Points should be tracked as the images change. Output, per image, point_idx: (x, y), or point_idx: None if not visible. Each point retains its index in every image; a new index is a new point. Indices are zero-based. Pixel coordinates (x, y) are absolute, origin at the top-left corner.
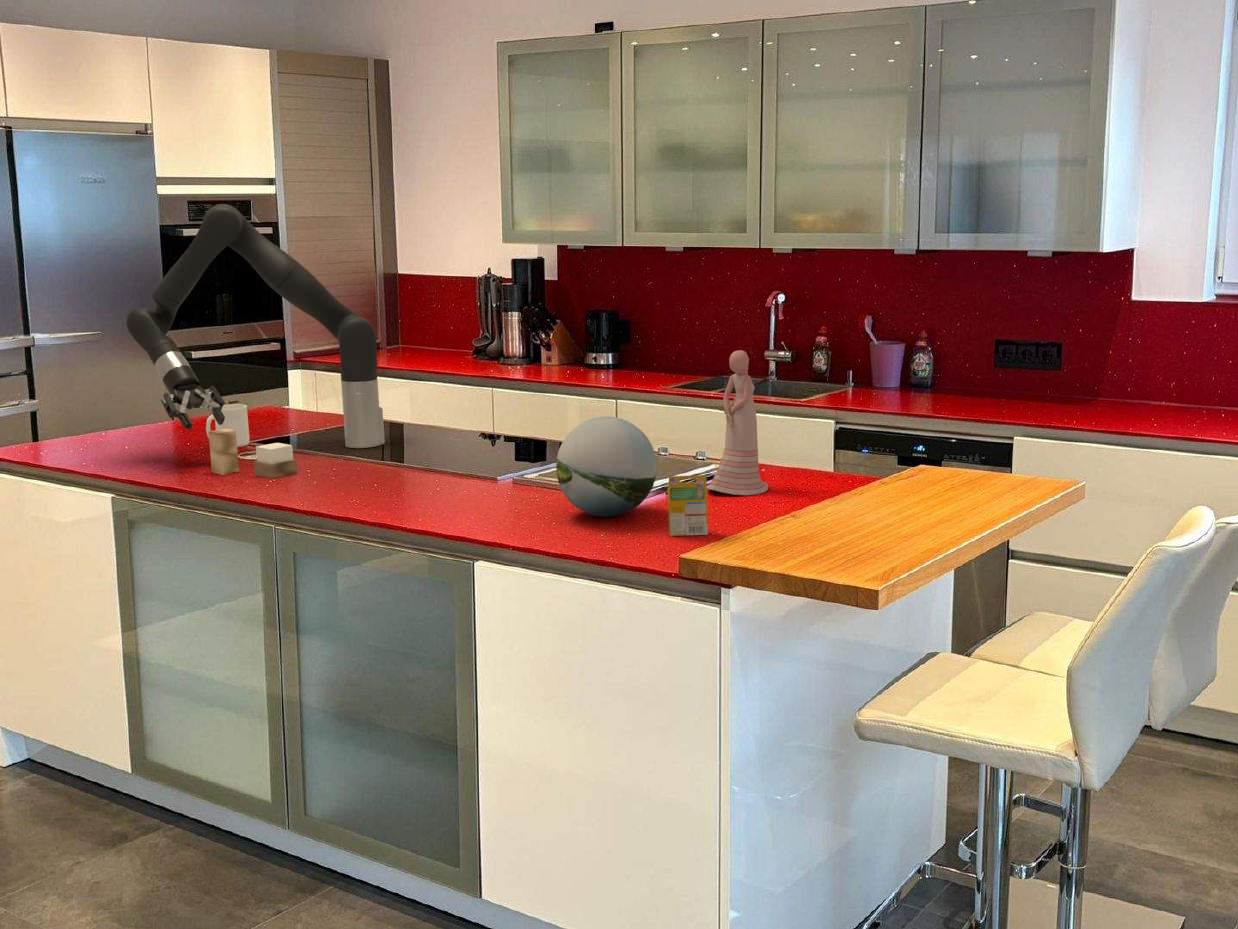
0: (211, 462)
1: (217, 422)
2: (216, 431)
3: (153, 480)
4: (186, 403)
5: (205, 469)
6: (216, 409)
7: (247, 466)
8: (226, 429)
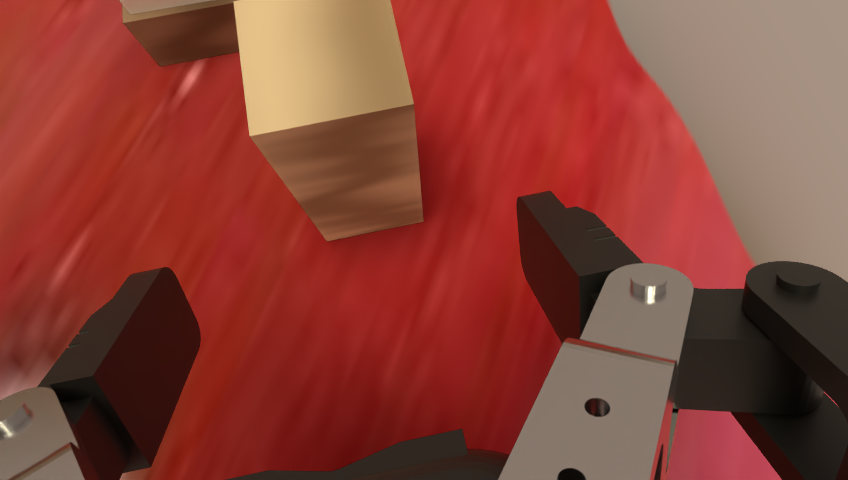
0: (421, 199)
1: (191, 365)
2: (363, 58)
3: (728, 244)
4: (575, 351)
5: (419, 328)
6: (98, 358)
7: (222, 244)
8: (262, 87)
